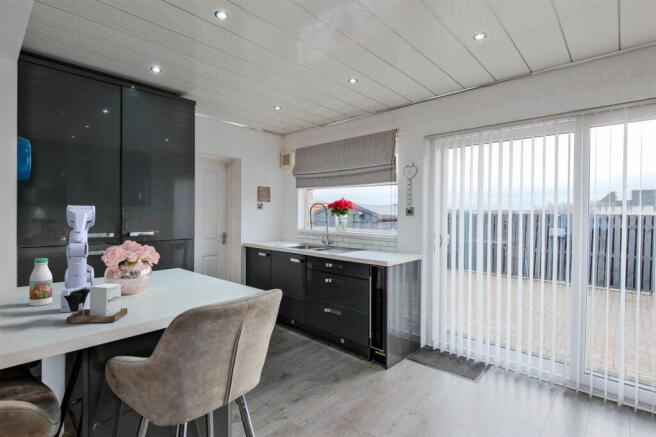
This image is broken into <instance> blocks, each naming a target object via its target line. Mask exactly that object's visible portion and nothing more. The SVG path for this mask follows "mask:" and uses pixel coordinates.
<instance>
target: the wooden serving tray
mask: <svg viewBox="0 0 656 437" xmlns="http://www.w3.org/2000/svg"><path fill="white" fill-rule="evenodd" d="M70 313H71V315H69V316H67V317H66V322H65V323H66V324H73V323H74V324H75V323H76V324H78V323H79V324H80V323H82V324H83V323H85V324H86V323H114V322H117V320H119V319H121V318H122V317H125V315H128V307H127V308H123V307H121V311H119V312H117V313H116V314H114V315H112V316H90V309H83V303H79V308H78V311H77V312H70Z"/></svg>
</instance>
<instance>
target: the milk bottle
mask: <svg viewBox="0 0 656 437" xmlns="http://www.w3.org/2000/svg"><path fill="white" fill-rule="evenodd" d="M33 261H34V264H33V265H34V268H33V270H32V272H31V274H30V277H29V286H28V287H29V288H28V289H29V294H28V296H29V297H28V300H29V301H28V302H29V303H28V304H29V306H30V307H38V306H39V307H40V306H45V305H50V304H52V302H53V274H52V272H51V271H50V269H49V266H48V263H49V259H48V258H47V257H40V258H34V260H33Z"/></svg>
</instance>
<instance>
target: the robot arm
mask: <svg viewBox="0 0 656 437" xmlns="http://www.w3.org/2000/svg"><path fill="white" fill-rule="evenodd" d="M65 213H66V214H65V215H66V222H67V224H68V225H67V226H69V227H71V228H72V230H71V231H70V232H69V238H68V244H67V245H66V252H65V254H66V259H67V260H66V262H67V268H66V270H65V273H64V280H63V281H64V282H63V283H64V289H63V290H62V291H61V294H60V310H59V313H69V312H70V313H72V312H77V311H78V308H79V303H83V309H90V287H92V286H95V271H94V267H92V266H91V265H89V264H87V261H88V260H87V258H88V256H89V244H88V237H89V236H88V232H89V229H90V228H91V227H93V226H94V225H95V221H96V206H95V205H74V204H73V205H70V204H68V205H67V206H66V212H65Z"/></svg>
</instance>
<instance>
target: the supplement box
mask: <svg viewBox="0 0 656 437" xmlns="http://www.w3.org/2000/svg"><path fill="white" fill-rule="evenodd" d="M121 301H122V284H121V283H108V282H107V283H106V282H105V283H102V284H98V285H93V286H91V287H90V315H89V316H112V315H114V314H116V313H117V312H119V311H121V308H122V303H121Z"/></svg>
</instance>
